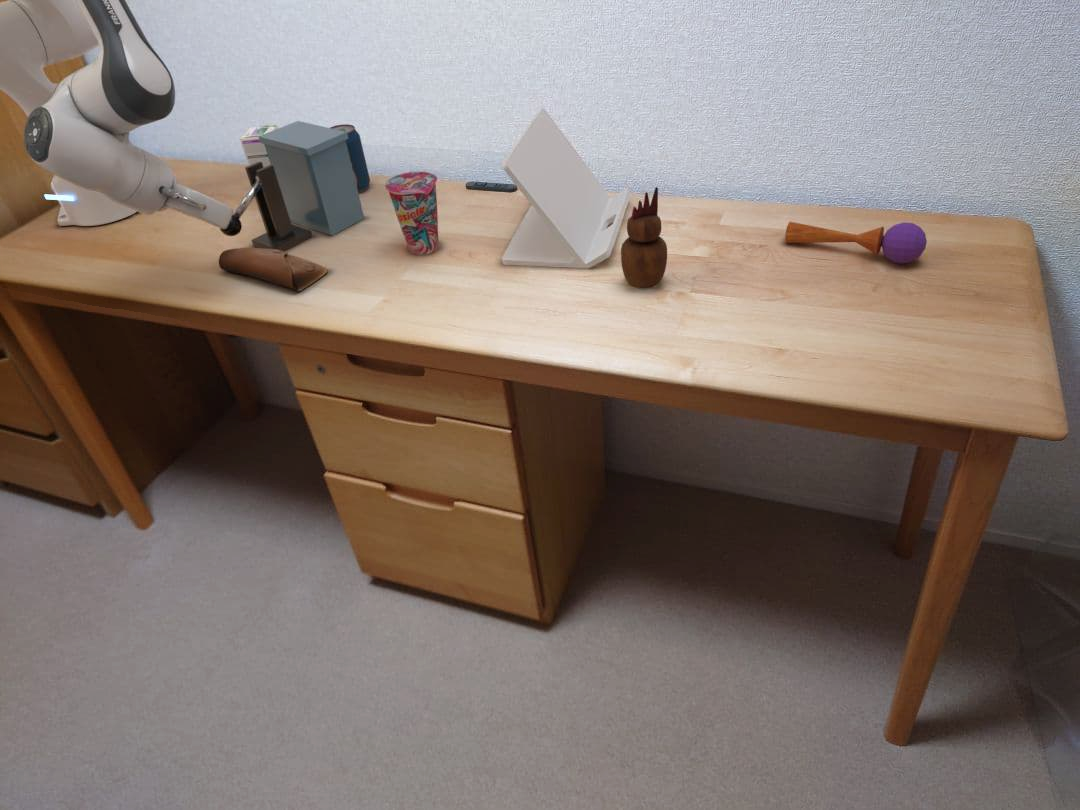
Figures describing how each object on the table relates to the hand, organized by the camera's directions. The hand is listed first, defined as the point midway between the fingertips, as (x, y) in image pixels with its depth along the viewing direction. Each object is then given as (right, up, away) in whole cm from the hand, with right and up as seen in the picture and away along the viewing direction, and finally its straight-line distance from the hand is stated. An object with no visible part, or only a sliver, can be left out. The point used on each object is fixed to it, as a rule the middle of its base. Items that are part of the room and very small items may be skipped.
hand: (222, 219), depth 127 cm
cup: (+34, -4, +4) cm, 34 cm away
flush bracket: (+7, -1, +11) cm, 13 cm away
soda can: (+15, +13, +27) cm, 34 cm away
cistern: (+13, +4, +17) cm, 21 cm away
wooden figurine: (+69, -13, -11) cm, 71 cm away
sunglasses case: (+8, -9, +2) cm, 12 cm away
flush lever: (+4, +3, +4) cm, 6 cm away
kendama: (+101, -8, -9) cm, 102 cm away
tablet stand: (+58, -1, +4) cm, 59 cm away
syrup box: (+2, +9, +25) cm, 26 cm away
